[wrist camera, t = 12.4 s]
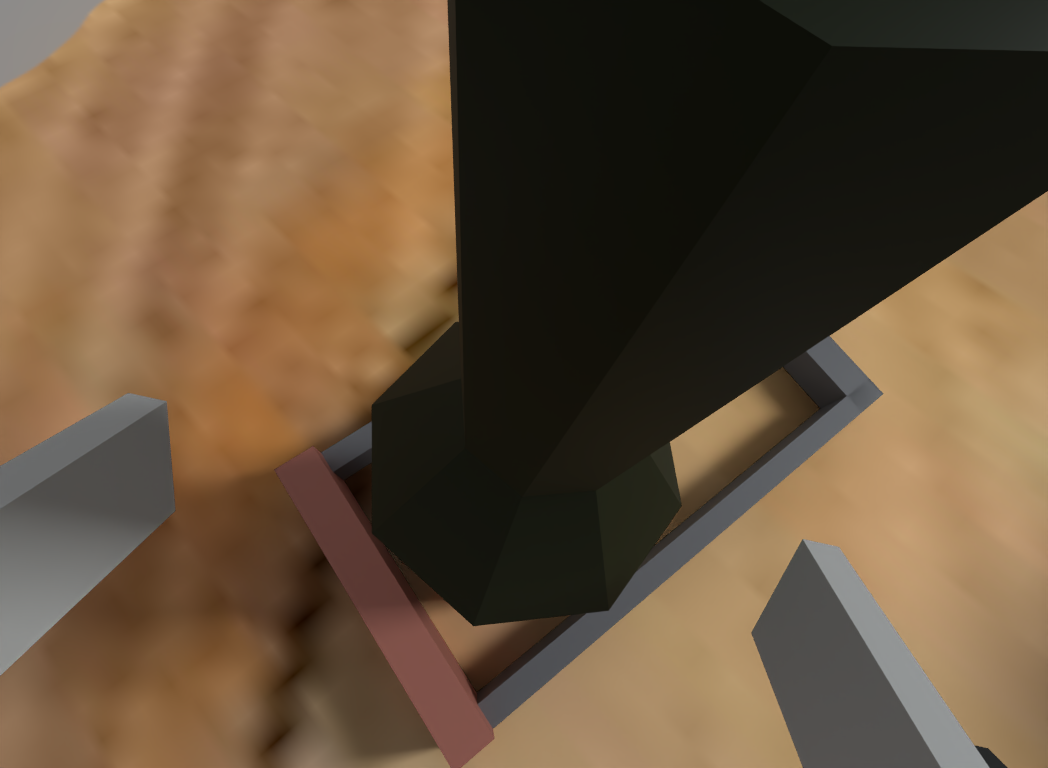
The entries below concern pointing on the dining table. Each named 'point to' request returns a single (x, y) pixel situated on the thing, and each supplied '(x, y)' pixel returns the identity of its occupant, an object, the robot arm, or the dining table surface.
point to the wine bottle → (673, 251)
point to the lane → (471, 716)
